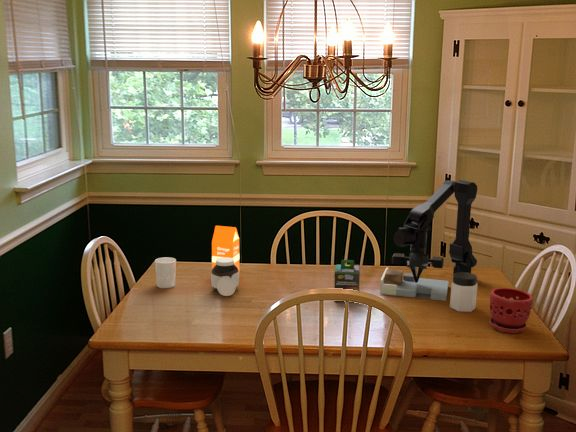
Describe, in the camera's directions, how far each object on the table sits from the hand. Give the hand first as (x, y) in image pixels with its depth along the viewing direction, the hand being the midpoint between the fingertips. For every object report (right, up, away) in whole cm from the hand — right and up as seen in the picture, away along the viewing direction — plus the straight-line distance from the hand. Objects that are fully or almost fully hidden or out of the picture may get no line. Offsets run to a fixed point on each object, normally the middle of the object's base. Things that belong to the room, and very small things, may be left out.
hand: (416, 282), depth 255 cm
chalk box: (-27, -5, -8) cm, 29 cm away
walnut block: (-8, 0, +2) cm, 9 cm away
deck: (-1, -3, +1) cm, 3 cm away
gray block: (-2, -2, +6) cm, 7 cm away
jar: (+13, -8, -16) cm, 22 cm away
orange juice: (-73, +1, +15) cm, 75 cm away
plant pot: (+24, -12, -33) cm, 43 cm away
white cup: (-95, -2, +2) cm, 95 cm away
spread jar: (-71, -3, -3) cm, 71 cm away
